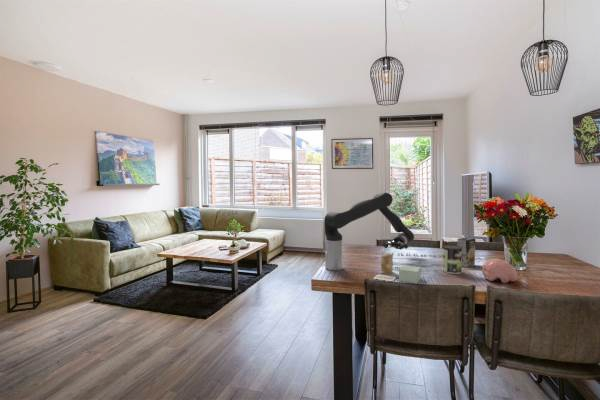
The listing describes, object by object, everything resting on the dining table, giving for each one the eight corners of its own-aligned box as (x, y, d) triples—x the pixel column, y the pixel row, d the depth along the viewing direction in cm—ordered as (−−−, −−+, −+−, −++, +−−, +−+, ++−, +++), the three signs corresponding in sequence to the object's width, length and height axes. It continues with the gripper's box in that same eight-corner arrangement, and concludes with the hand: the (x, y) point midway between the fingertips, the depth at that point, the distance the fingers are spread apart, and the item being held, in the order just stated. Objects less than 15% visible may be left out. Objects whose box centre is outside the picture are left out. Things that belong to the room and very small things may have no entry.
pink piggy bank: (504, 285, 170) (515, 264, 168) (515, 293, 157) (527, 271, 156) (474, 272, 172) (485, 251, 171) (483, 279, 160) (494, 257, 158)
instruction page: (373, 278, 170) (373, 278, 170) (377, 274, 177) (377, 274, 177) (392, 281, 165) (392, 281, 165) (396, 277, 171) (396, 276, 171)
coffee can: (465, 271, 180) (465, 247, 179) (455, 275, 174) (456, 249, 173) (447, 267, 188) (448, 244, 187) (437, 271, 182) (438, 246, 181)
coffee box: (467, 267, 188) (467, 240, 187) (456, 265, 194) (457, 238, 192) (475, 265, 194) (475, 238, 192) (464, 262, 199) (465, 237, 198)
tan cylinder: (381, 272, 180) (381, 255, 179) (383, 270, 184) (383, 253, 184) (390, 274, 178) (390, 256, 177) (392, 271, 182) (392, 254, 181)
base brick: (398, 280, 166) (398, 269, 166) (403, 276, 174) (403, 265, 174) (417, 283, 162) (417, 271, 161) (420, 278, 169) (420, 267, 169)
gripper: (388, 235, 207) (380, 239, 193) (411, 236, 200) (405, 241, 186) (388, 246, 208) (380, 252, 194) (411, 248, 200) (405, 254, 186)
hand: (392, 247), depth 190 cm, fingers open, 8 cm apart
